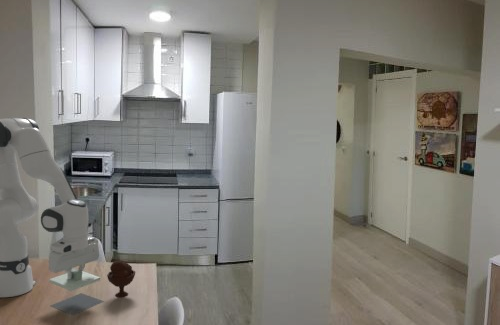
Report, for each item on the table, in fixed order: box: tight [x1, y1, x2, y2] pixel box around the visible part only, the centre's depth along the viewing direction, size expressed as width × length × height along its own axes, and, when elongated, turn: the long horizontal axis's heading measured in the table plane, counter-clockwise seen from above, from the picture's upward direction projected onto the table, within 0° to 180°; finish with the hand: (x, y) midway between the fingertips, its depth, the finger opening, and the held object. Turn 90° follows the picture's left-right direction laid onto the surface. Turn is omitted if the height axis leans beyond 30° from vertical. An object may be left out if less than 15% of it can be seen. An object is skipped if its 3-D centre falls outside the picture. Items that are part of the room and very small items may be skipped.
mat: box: [50, 293, 105, 316], centre depth 162 cm, size 14×14×1 cm
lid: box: [48, 267, 101, 292], centre depth 161 cm, size 13×13×4 cm
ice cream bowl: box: [106, 260, 136, 298], centre depth 170 cm, size 11×11×15 cm
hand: (74, 276), depth 161 cm, fingers closed on lid, 2 cm apart
